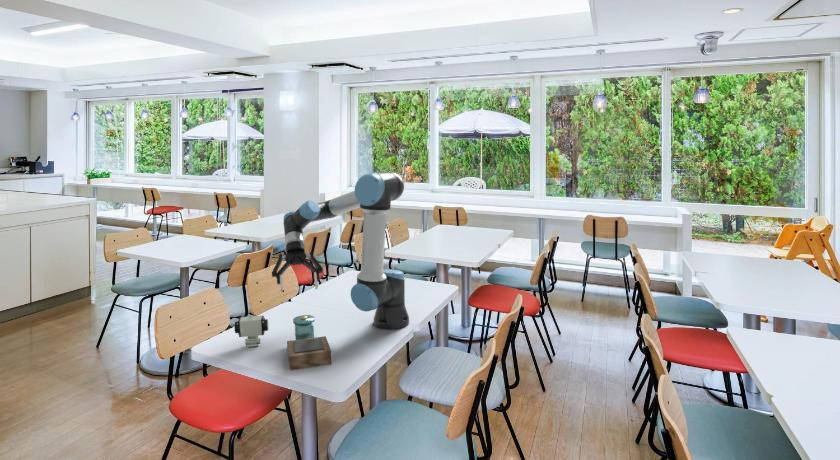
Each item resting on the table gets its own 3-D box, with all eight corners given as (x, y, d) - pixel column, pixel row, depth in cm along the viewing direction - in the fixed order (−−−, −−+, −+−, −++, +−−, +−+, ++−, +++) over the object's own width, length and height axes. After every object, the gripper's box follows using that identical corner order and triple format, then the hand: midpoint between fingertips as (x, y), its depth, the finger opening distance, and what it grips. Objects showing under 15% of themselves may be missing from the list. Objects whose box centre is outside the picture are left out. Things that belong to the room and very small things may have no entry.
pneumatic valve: (268, 346, 188) (266, 316, 186) (236, 349, 186) (233, 318, 184) (269, 341, 193) (267, 311, 191) (238, 343, 191) (236, 313, 189)
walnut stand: (326, 348, 185) (325, 335, 184) (331, 364, 172) (331, 349, 171) (287, 354, 181) (286, 340, 180) (290, 370, 168) (289, 355, 167)
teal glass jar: (314, 338, 196) (313, 312, 194) (316, 346, 188) (315, 318, 186) (293, 340, 193) (292, 314, 191) (295, 348, 186) (293, 321, 184)
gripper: (324, 247, 216) (330, 290, 204) (264, 251, 208) (267, 296, 197) (325, 238, 210) (331, 281, 199) (263, 241, 202) (266, 287, 191)
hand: (299, 289), depth 198 cm, fingers open, 13 cm apart
